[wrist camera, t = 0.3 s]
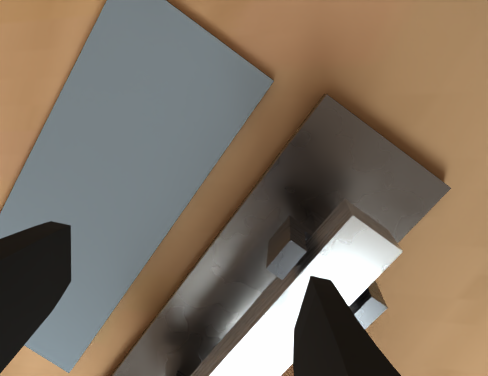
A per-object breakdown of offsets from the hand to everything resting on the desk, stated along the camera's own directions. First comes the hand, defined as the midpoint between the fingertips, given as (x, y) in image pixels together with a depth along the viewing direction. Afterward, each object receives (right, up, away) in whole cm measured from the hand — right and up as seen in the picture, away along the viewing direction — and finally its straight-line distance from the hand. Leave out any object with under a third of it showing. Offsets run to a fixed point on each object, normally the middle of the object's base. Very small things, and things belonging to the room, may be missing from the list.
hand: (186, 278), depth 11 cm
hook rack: (+2, -5, +12) cm, 13 cm away
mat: (-7, +2, +11) cm, 13 cm away
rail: (+1, -6, +8) cm, 10 cm away
